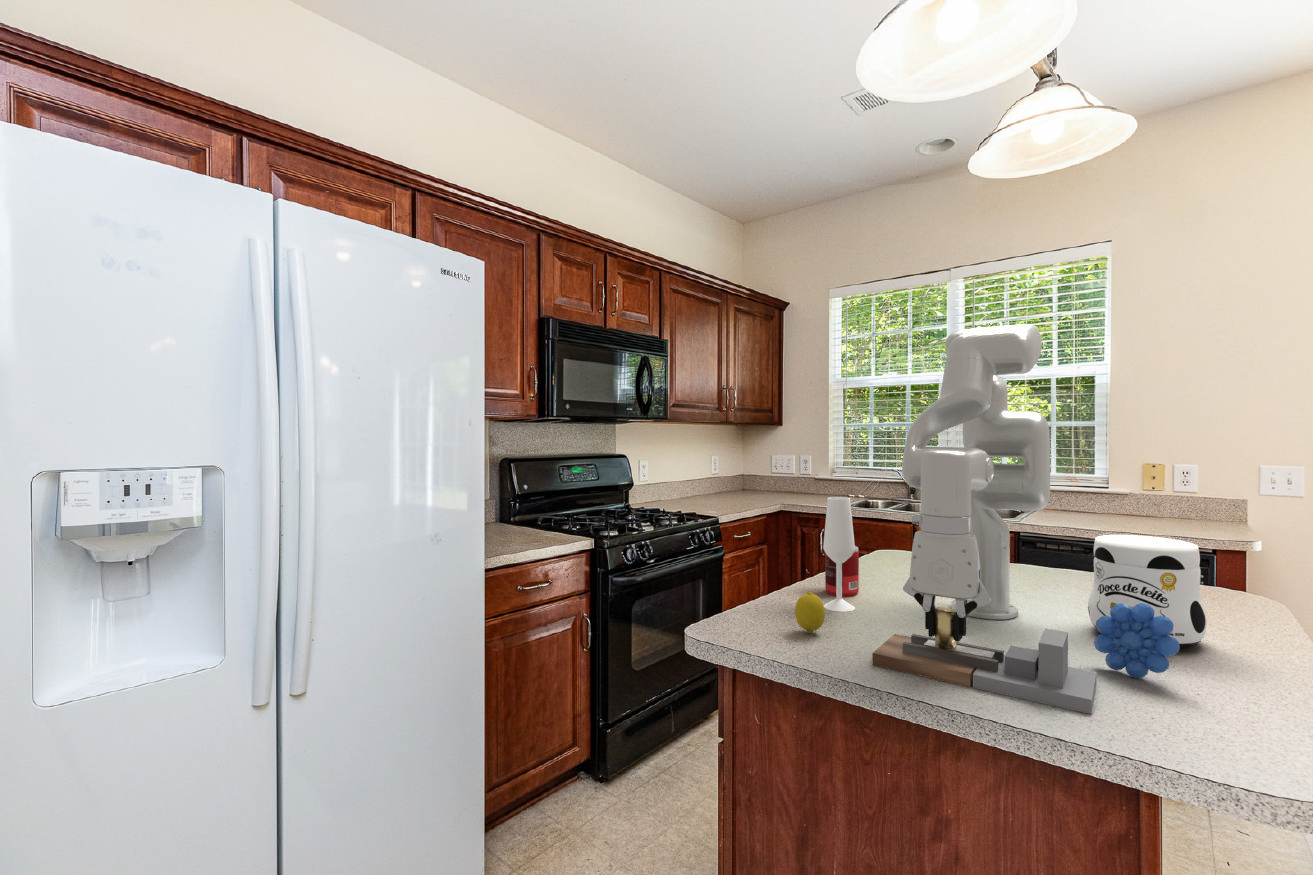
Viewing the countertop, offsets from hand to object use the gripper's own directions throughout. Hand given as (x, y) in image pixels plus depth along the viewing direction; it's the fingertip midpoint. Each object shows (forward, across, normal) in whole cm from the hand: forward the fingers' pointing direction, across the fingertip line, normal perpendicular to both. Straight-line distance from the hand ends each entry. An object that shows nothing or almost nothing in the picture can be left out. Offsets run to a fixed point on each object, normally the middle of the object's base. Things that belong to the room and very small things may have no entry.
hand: (945, 635), depth 103 cm
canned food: (+5, -31, +35) cm, 47 cm away
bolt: (+3, +2, 0) cm, 4 cm away
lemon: (+5, -25, +3) cm, 26 cm away
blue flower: (+5, +25, +14) cm, 29 cm away
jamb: (+5, +13, 0) cm, 14 cm away
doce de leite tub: (+6, +26, +37) cm, 46 cm away
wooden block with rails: (+5, -1, 0) cm, 5 cm away
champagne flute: (+5, -27, +23) cm, 36 cm away
